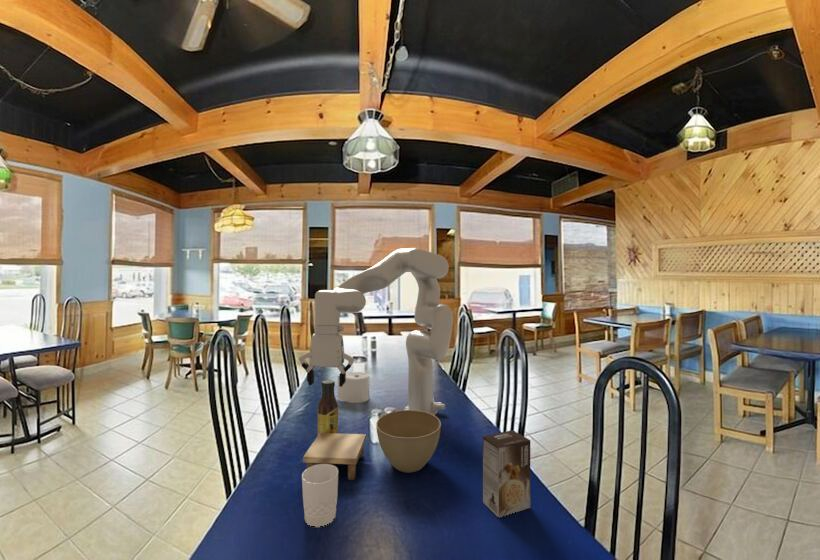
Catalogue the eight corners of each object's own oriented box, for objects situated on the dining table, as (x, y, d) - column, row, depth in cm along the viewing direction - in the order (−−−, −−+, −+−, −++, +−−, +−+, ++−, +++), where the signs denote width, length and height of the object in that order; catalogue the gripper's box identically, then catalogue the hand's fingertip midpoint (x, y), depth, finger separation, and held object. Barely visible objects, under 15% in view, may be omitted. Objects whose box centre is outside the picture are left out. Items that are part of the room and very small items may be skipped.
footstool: (366, 454, 109) (366, 434, 109) (356, 481, 95) (356, 458, 95) (319, 452, 110) (319, 432, 110) (303, 479, 96) (303, 456, 96)
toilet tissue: (373, 400, 154) (373, 376, 153) (347, 406, 147) (347, 381, 147) (362, 393, 163) (362, 370, 162) (336, 398, 156) (336, 375, 156)
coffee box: (512, 493, 90) (513, 428, 90) (531, 508, 85) (532, 440, 84) (481, 502, 87) (482, 435, 86) (498, 519, 81) (499, 447, 80)
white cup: (306, 506, 85) (305, 464, 85) (340, 504, 86) (340, 462, 85) (298, 530, 77) (298, 484, 77) (336, 528, 78) (336, 482, 78)
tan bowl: (368, 456, 108) (368, 415, 108) (423, 444, 115) (423, 406, 115) (389, 490, 91) (389, 442, 91) (452, 474, 99) (452, 429, 98)
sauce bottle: (333, 450, 111) (332, 385, 110) (313, 448, 112) (313, 384, 112) (341, 440, 118) (341, 379, 117) (323, 438, 119) (322, 378, 118)
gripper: (357, 328, 117) (356, 382, 117) (304, 327, 118) (303, 380, 118) (351, 332, 109) (351, 389, 110) (295, 331, 110) (294, 387, 111)
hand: (326, 384), depth 114 cm, fingers open, 9 cm apart
